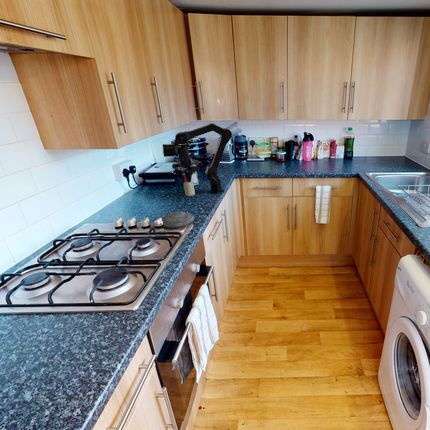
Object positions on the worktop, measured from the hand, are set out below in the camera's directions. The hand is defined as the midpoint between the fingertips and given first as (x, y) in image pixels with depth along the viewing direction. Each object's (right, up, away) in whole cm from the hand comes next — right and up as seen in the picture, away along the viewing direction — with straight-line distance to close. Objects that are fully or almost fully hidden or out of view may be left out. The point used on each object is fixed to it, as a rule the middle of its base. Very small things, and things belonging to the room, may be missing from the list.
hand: (187, 181), depth 169 cm
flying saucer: (+8, -24, -33) cm, 42 cm away
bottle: (0, -7, +3) cm, 8 cm away
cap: (0, +1, 0) cm, 1 cm away
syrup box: (-4, 0, +21) cm, 22 cm away
